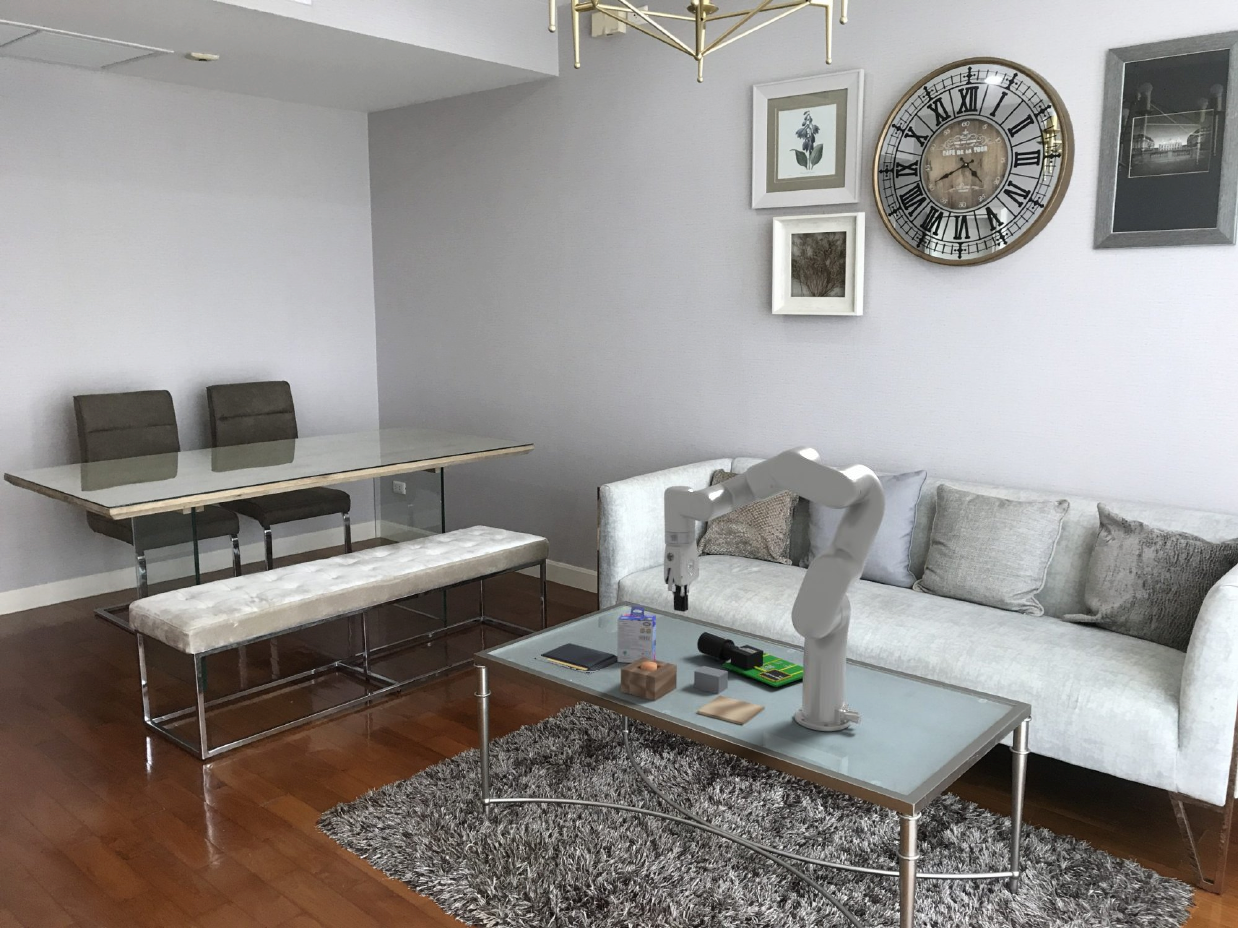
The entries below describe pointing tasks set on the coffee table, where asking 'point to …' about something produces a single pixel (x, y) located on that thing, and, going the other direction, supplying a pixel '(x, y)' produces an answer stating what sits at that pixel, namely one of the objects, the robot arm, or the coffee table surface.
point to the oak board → (731, 710)
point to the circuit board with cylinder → (749, 660)
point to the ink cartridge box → (636, 636)
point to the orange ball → (648, 666)
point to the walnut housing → (649, 679)
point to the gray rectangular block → (711, 679)
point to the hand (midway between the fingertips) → (681, 609)
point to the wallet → (580, 657)
